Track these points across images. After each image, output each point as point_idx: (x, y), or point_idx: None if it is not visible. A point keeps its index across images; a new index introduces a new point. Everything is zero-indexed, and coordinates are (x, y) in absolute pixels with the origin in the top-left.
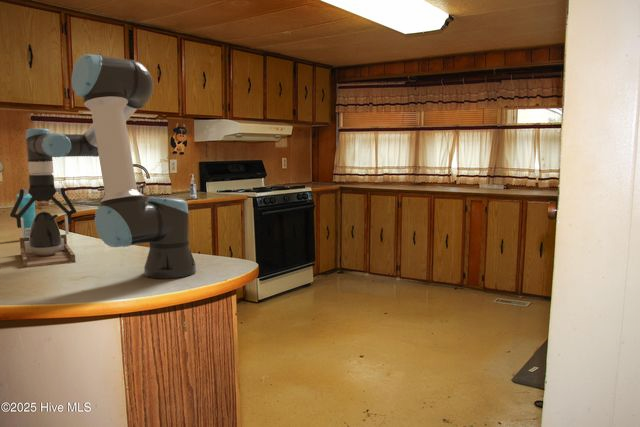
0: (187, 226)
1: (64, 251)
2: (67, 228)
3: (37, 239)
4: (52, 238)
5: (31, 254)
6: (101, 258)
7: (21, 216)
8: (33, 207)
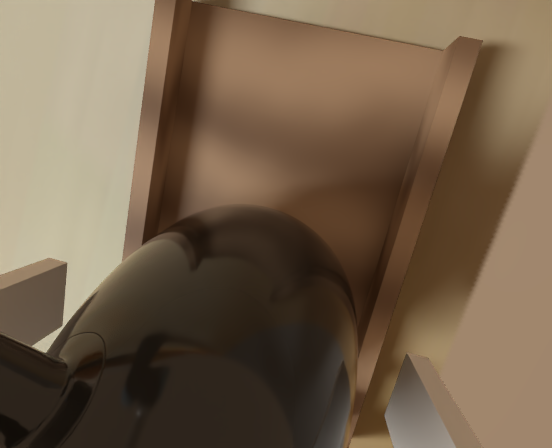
0: None
1: None
2: (4, 280)
3: (322, 254)
4: (204, 216)
5: None
6: (38, 12)
7: None
8: None
